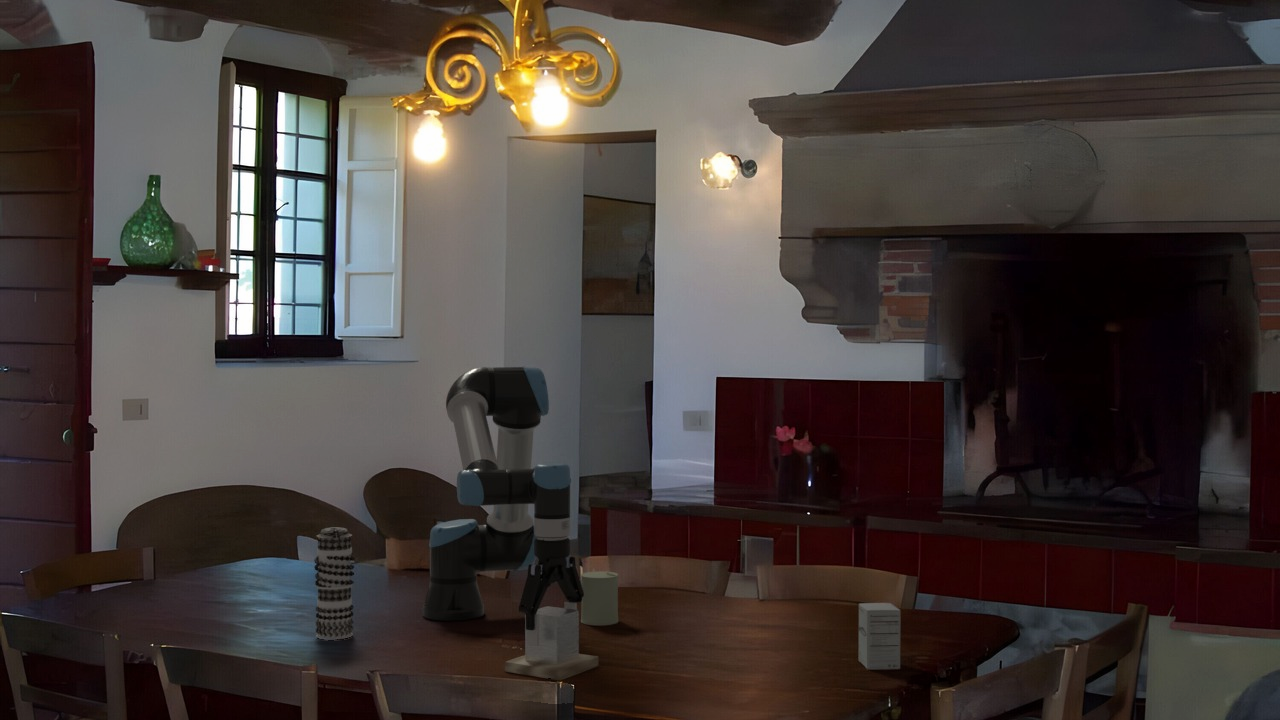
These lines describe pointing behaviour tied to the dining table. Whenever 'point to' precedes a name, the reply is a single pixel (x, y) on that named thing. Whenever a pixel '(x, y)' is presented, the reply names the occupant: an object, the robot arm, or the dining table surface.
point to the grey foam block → (555, 636)
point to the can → (599, 598)
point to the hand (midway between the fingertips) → (552, 639)
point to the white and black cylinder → (334, 584)
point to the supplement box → (879, 636)
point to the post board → (552, 667)
